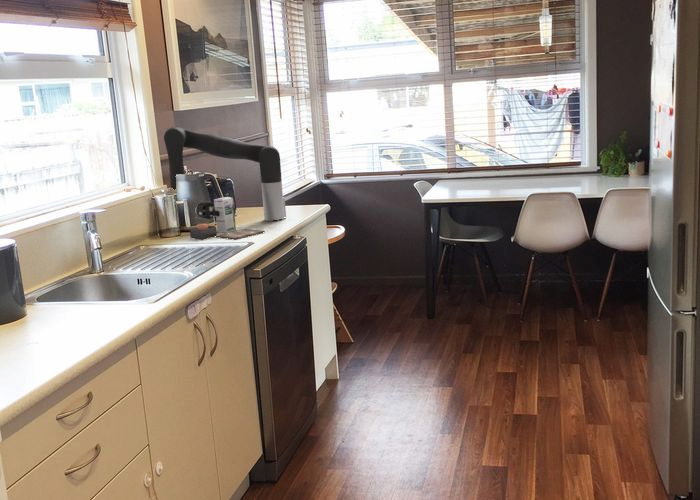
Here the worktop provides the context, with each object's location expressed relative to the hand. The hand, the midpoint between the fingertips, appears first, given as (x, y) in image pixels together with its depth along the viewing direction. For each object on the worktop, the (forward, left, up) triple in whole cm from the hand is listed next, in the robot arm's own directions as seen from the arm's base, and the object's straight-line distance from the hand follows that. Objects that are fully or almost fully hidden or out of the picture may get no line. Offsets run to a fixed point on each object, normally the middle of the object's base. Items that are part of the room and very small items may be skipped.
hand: (226, 212), depth 325 cm
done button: (+13, 0, -6) cm, 14 cm away
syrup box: (0, -1, -9) cm, 9 cm away
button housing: (+13, 0, -9) cm, 16 cm away
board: (+3, +11, -9) cm, 14 cm away
